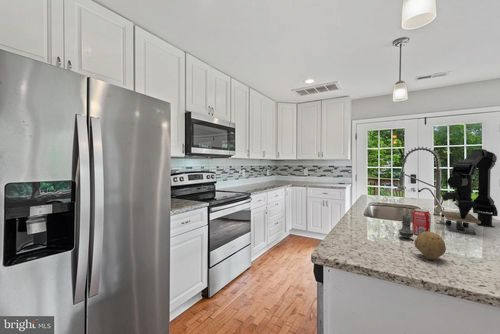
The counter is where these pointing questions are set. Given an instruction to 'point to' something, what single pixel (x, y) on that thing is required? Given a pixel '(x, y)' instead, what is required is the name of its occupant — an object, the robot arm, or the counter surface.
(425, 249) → the potato
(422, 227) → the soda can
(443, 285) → the counter surface
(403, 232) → the dark grey tall piece
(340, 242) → the counter surface
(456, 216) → the instrument deck
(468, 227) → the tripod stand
